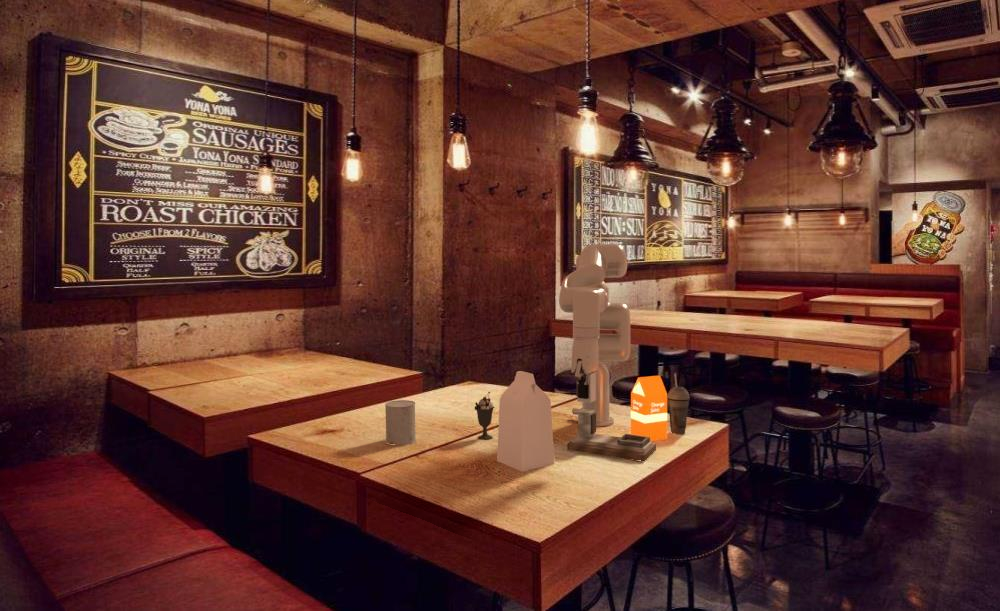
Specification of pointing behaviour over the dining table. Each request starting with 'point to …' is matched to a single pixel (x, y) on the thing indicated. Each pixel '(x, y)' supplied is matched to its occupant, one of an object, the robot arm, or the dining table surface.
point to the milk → (525, 425)
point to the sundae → (484, 416)
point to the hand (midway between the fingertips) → (586, 395)
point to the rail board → (608, 441)
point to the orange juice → (649, 408)
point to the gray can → (400, 422)
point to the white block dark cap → (591, 388)
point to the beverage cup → (678, 408)
